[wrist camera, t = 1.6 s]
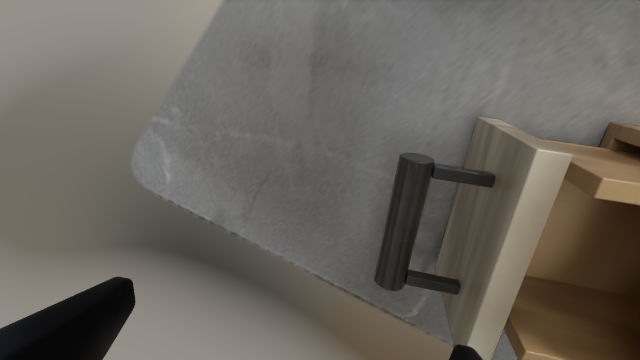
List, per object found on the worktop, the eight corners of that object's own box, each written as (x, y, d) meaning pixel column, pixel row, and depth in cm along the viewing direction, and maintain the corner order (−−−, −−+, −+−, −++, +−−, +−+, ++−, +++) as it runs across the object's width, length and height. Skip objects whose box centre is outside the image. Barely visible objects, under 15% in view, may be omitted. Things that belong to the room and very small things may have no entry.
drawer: (371, 256, 23) (366, 344, 16) (401, 105, 19) (412, 130, 12) (636, 309, 21) (771, 439, 14) (726, 150, 17) (976, 214, 10)
